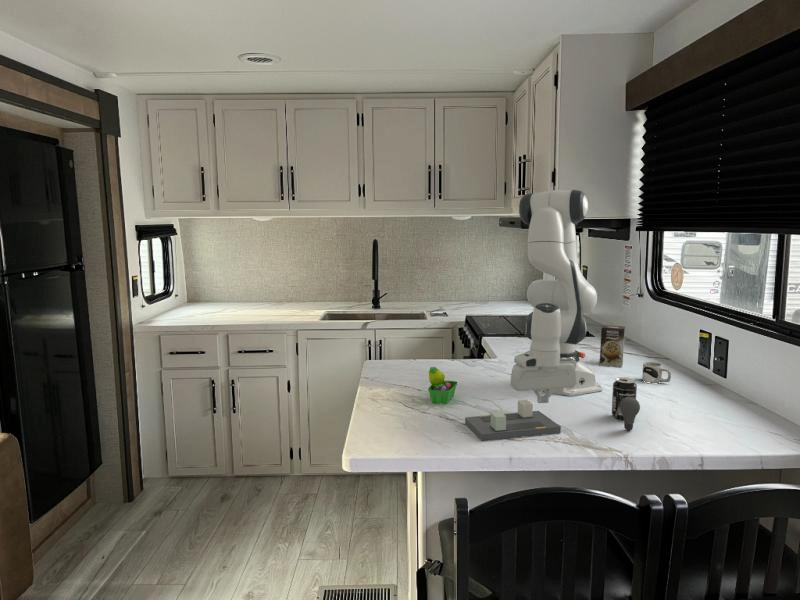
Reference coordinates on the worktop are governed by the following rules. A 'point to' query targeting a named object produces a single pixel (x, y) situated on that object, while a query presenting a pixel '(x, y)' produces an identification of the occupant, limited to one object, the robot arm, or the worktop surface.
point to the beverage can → (622, 394)
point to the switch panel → (512, 426)
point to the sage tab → (498, 421)
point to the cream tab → (525, 408)
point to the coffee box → (612, 346)
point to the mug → (654, 372)
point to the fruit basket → (440, 387)
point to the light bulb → (629, 411)
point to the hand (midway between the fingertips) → (542, 402)
